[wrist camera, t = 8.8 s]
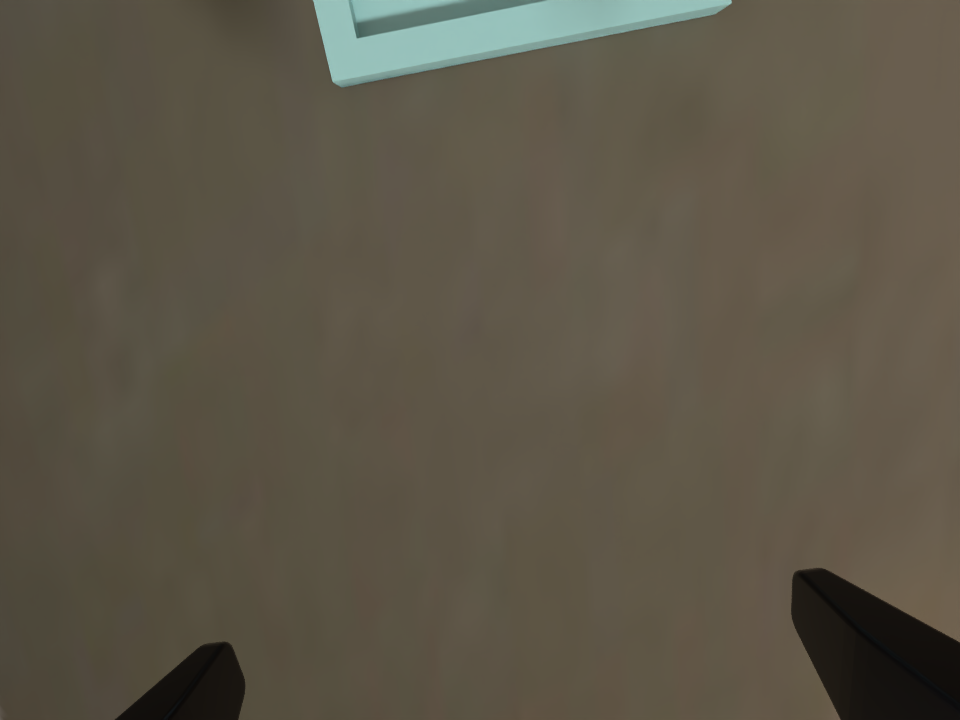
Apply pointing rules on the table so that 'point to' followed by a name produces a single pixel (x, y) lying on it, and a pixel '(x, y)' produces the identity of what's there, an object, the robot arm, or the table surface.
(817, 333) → the table surface
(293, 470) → the table surface
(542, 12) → the tray
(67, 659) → the table surface
